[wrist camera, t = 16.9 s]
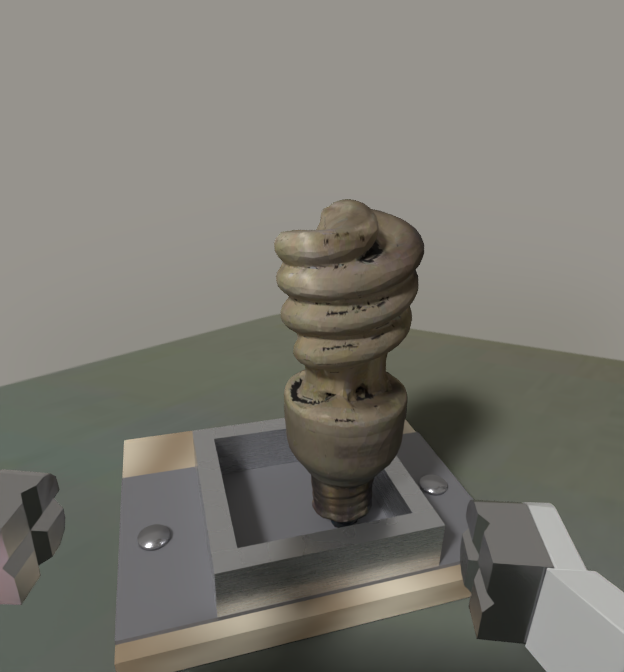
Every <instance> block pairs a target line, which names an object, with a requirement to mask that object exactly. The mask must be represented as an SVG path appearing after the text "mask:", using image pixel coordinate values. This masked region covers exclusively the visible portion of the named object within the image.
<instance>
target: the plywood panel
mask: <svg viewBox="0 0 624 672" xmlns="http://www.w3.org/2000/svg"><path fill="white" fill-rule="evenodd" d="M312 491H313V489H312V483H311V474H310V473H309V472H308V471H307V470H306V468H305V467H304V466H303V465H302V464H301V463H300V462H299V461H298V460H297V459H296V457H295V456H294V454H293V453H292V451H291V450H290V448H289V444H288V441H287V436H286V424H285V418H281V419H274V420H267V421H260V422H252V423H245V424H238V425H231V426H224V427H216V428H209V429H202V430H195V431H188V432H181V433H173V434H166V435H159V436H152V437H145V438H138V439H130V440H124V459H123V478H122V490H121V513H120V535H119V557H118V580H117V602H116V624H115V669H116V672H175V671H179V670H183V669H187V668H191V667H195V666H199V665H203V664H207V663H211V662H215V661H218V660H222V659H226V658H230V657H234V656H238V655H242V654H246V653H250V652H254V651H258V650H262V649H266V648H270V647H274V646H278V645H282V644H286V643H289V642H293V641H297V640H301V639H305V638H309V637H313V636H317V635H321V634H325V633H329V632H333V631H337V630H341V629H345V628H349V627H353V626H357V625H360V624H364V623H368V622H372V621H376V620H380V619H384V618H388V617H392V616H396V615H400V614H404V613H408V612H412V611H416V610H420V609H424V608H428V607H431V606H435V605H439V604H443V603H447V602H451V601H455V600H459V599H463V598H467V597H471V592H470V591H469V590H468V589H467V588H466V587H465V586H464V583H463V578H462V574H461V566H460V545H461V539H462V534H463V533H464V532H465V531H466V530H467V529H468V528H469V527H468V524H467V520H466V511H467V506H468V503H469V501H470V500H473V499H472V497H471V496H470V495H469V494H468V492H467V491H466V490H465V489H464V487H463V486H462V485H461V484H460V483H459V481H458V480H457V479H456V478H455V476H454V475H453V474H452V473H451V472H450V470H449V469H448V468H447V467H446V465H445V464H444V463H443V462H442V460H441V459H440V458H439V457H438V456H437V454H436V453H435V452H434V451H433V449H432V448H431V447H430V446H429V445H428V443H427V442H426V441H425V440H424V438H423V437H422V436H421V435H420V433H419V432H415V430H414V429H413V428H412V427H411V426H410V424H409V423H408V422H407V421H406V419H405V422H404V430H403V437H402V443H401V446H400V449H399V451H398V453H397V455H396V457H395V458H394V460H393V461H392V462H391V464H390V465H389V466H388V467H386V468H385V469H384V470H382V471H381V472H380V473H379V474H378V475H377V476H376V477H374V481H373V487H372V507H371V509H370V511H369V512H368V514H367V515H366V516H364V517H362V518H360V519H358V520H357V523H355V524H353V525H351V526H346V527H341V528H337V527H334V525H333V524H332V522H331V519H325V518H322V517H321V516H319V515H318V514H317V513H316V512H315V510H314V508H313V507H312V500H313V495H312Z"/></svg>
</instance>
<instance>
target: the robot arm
mask: <svg viewBox="0 0 624 672" xmlns="http://www.w3.org/2000/svg"><path fill="white" fill-rule="evenodd" d="M58 492H59V486H58V482H57V479H56V476H54V475H52V474H50V473H39V472H28V471H16V470H5V469H3V470H0V604H11V605H22V603H23V602H24V600H25V599H26V597H27V596H28V594H29V593H30V591H31V589H32V588H33V586H34V585H35V583H36V582H37V580H38V579H39V577H40V576H41V575H40V569H39V565H40V564H42V563H43V562H45V561H47V560H48V559H50V558H51V557H53V555H54V554H55V552H56V550H57V549H58V547H59V546H60V543H61V540H62V537H63V534H64V530H65V514H64V509H63V507H62V506H61V505H60V504H59V503H58V502H57V501H56V500H55V499H54V497H55V496H56V494H57V493H58ZM466 520H467V524H468V527H469V528H468V529H467V530H466V531H465V532H464V533H463V534H462V539H461V545H460V566H461V574H462V578H463V583H464V586H465V587H466V588H467V589H468V590H469V591H470V592H471V598H470V603H469V609H470V613H471V617H472V621H473V625H474V629H475V634H476V638H477V639H482V640H491V641H501V642H511V643H521V644H526V645H525V647H526V648H527V649H528V650H529V651H530V653H531V654H532V655H533V656H534V657H535V659H536V660H537V661H538V662H539V663H540V665H541V666H542V667H543V668H544V669H545V671H546V672H624V592H622V591H621V590H620V589H618V588H617V587H616V586H614V585H613V584H612V583H611V582H609V581H608V580H607V579H605V578H604V577H603V576H601V575H600V574H599V573H597V572H596V571H587V569H586V567H585V565H584V563H583V561H582V559H581V557H580V555H579V553H578V551H577V549H576V547H575V545H574V543H573V541H572V539H571V537H570V535H569V533H568V531H567V530H566V528H565V526H564V524H563V522H562V520H561V518H560V516H559V514H558V512H557V510H556V508H555V507H554V506H553V505H552V504H551V503H534V502H523V503H521V502H503V501H485V500H470V501H469V503H468V506H467V511H466Z"/></svg>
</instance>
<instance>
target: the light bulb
mask: <svg viewBox="0 0 624 672" xmlns="http://www.w3.org/2000/svg"><path fill="white" fill-rule="evenodd" d="M274 245H275V252H276V253H277V255H278V257H279V258H280V259H281V260H282V261H283V263H282V265H281V267H280V269H279V270H278V272H277V275H276V279H277V284H278V287H279V288H280V289H281V290H282V291H283V292H284V293H286V294H287V295H288V296H289V298H288V299H287V300H286V302H285V303H284V304H283V306H282V309H281V319H282V321H283V322H284V324H285V325H286V326H287V327H288V328H289V329H291V330H293V331H294V332H296V333H297V336H298V339H297V341H296V343H295V345H294V350H293V354H294V356H295V357H296V359H297V360H298V361H299V362H300V363H302V364H304V365H305V370H303V371H301V372H299V373H297V374H295V375H294V376H292V377H291V378H290V379H289V381H288V382H287V384H286V387H285V392H284V402H285V404H284V412H285V424H286V436H287V441H288V444H289V448H290V450H291V451H292V453H293V454H294V456H295V457H296V459H297V460H298V461H299V462H300V463H301V464H302V465H303V466H304V467H305V468H306V470H307V471H308V472H309V473H310V474H311V483H312V489H313V491H312V495H313V500H312V507H313V508H314V510H315V512H316V513H317V514H318V515H319V516H321V517H322V518H325V519H331V522H332V524H333V525H334V527H337V528H341V527H346V526H351V525H353V524H355V523H357V520H358V519H360V518H362V517H364V516H366V515H367V514H368V512H369V511H370V509H371V507H372V487H373V481H374V477H376V476H377V475H378V474H379V473H380V472H381V471H382V470H384V469H385V468H386V467H388V466H389V465H390V464H391V462H392V461H393V460H394V458H395V457H396V455H397V453H398V451H399V449H400V446H401V443H402V437H403V430H404V422H405V418H406V411H407V392H406V390H405V387H404V385H403V384H402V383H401V382H400V381H399V380H398V379H397V378H395V377H394V376H392V375H391V374H389V373H388V372H386V358H387V353H388V352H390V351H391V350H393V349H394V348H395V347H397V346H398V345H399V344H400V343H401V342H402V341H403V339H404V338H405V337H406V336H407V334H408V332H409V330H410V326H411V321H412V313H411V309H410V305H411V303H412V302H413V300H414V298H415V296H416V294H417V291H418V275H417V272H416V268H417V267H418V266H419V265H420V262H421V260H422V258H423V255H424V243H423V241H422V238H421V235H420V234H419V233H418V231H417V230H416V229H415V228H414V227H413V226H411V225H410V224H409V223H407V222H406V221H404V220H402V219H400V218H398V217H396V216H393V215H391V214H387V213H385V212H382V211H378V210H373V209H370V208H369V207H368V206H366V205H365V204H364V203H361V202H359V201H356V200H351V199H345V200H340V201H337V202H334V203H333V204H331V205H330V206H329V207H327V208H324V209H323V211H322V213H321V220H320V223H319V225H318V227H317V229H316V230H292V231H285V232H281V233H280V234H279V235H278V237H277V238H276V240H275V243H274Z"/></svg>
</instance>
